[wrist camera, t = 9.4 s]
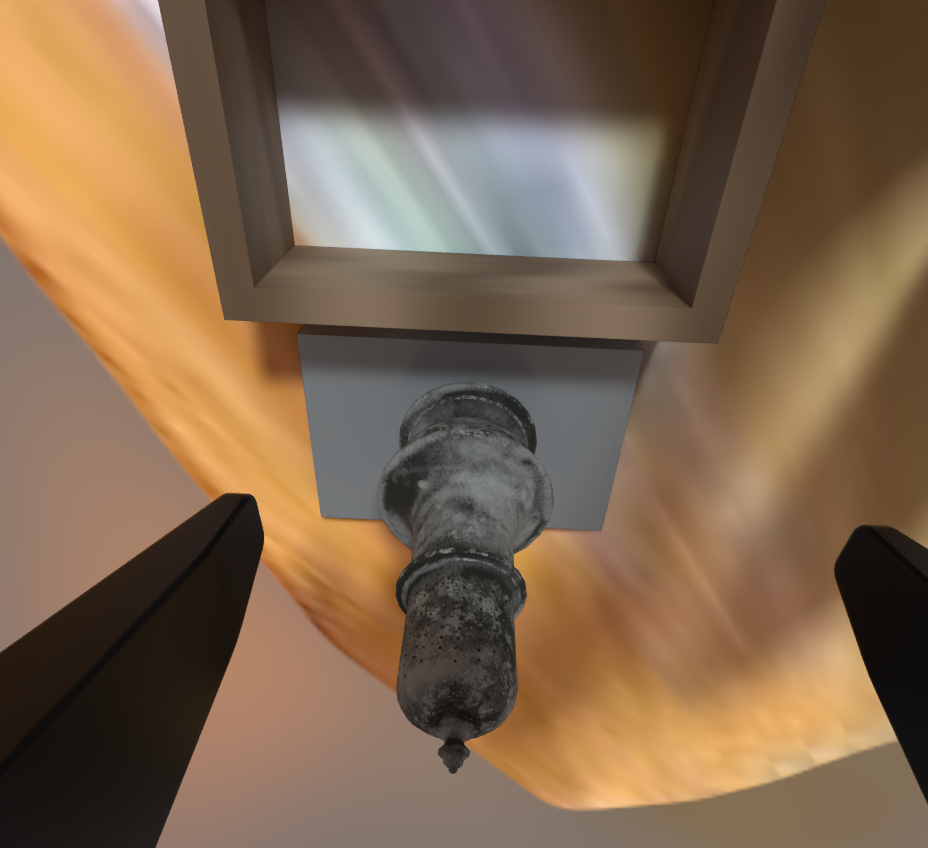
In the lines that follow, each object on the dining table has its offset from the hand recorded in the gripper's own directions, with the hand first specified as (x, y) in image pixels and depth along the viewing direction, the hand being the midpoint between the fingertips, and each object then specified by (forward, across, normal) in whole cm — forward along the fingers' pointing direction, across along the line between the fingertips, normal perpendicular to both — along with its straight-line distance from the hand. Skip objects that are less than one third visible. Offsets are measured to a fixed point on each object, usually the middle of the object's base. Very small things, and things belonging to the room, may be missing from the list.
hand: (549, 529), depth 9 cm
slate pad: (+12, +2, +7) cm, 14 cm away
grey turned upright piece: (+12, +1, +7) cm, 14 cm away
